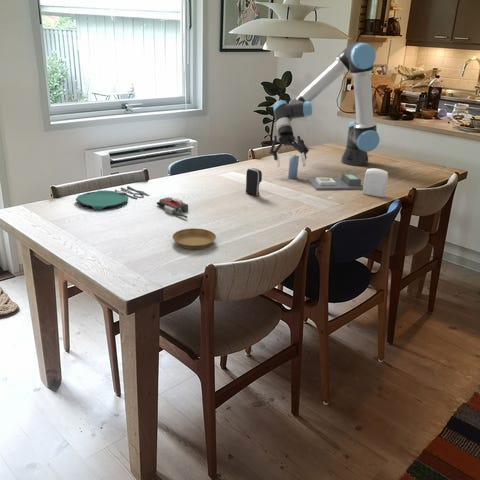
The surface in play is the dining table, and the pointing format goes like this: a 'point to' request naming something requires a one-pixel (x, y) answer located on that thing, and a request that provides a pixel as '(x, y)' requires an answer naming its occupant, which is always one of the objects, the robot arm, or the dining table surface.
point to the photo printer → (375, 182)
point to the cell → (293, 166)
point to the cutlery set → (106, 198)
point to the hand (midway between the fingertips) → (291, 165)
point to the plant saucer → (194, 238)
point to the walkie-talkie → (173, 206)
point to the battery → (253, 181)
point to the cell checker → (337, 183)
